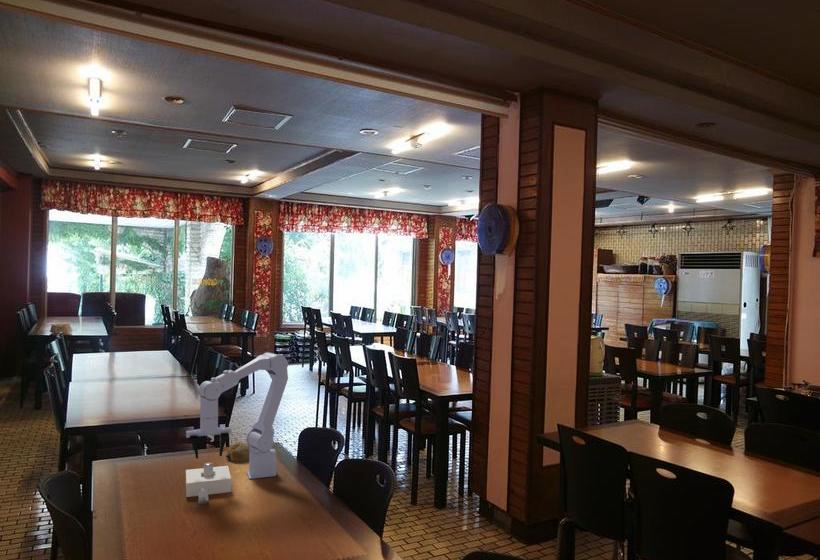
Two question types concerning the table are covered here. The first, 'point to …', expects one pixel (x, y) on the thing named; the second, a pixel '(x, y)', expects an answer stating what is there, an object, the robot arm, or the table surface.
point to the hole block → (208, 481)
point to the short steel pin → (203, 495)
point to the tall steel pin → (208, 469)
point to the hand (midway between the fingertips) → (208, 456)
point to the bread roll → (238, 452)
